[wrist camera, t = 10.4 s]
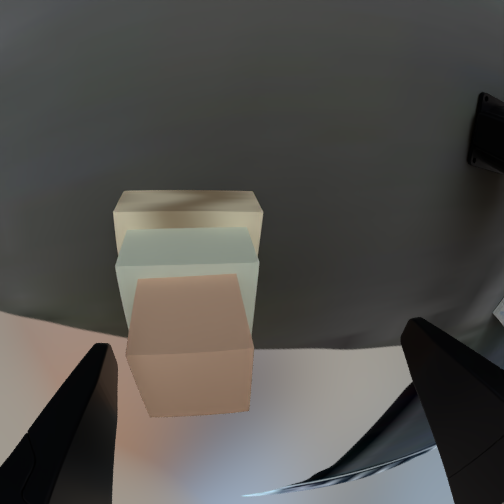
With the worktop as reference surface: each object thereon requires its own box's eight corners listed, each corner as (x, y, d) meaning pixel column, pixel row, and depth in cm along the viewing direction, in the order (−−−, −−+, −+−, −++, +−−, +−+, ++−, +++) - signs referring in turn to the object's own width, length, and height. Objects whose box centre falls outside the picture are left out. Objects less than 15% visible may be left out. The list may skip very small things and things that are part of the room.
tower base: (251, 189, 20) (263, 212, 17) (241, 290, 24) (248, 321, 21) (124, 188, 18) (113, 212, 15) (135, 291, 22) (129, 324, 19)
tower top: (246, 227, 17) (259, 262, 14) (240, 315, 21) (249, 356, 18) (127, 229, 16) (114, 266, 13) (141, 319, 19) (136, 360, 16)
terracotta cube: (236, 273, 14) (254, 347, 11) (235, 340, 17) (249, 410, 13) (138, 278, 14) (125, 355, 10) (152, 345, 16) (150, 417, 12)
